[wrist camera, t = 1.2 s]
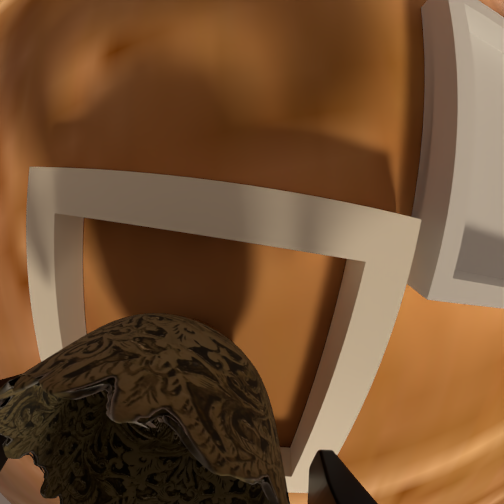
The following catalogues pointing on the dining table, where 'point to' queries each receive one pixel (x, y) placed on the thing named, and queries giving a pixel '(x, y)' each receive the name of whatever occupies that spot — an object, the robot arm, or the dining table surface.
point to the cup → (147, 418)
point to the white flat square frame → (239, 229)
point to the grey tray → (461, 157)
